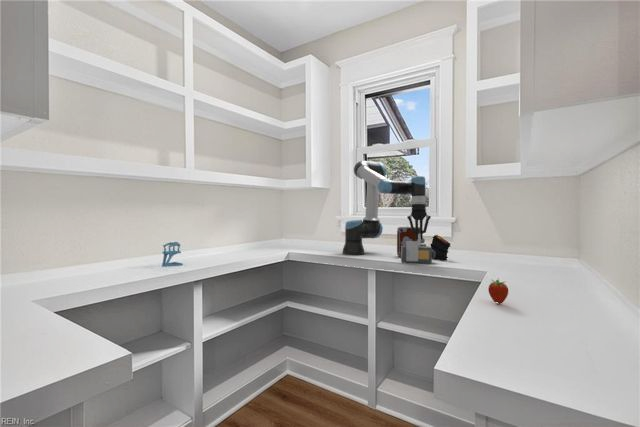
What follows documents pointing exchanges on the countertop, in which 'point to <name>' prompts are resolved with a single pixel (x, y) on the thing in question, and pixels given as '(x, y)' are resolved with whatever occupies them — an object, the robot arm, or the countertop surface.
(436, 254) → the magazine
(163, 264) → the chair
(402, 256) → the block
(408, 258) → the side door
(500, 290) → the fruit
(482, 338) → the countertop surface
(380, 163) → the robot arm
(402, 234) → the brown box
